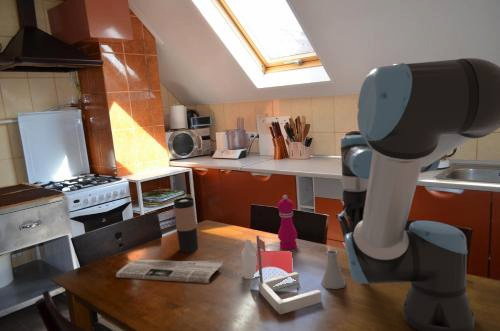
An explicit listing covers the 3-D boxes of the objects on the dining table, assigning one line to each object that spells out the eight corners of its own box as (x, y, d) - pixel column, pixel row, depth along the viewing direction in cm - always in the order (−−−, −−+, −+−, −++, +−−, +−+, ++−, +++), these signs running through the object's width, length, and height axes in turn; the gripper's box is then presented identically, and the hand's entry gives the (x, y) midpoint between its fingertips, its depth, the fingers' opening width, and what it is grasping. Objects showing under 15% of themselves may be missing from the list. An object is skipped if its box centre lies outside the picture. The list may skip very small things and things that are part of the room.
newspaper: (116, 278, 127) (114, 269, 126) (136, 263, 139) (135, 254, 138) (213, 285, 117) (211, 274, 116) (226, 267, 128) (225, 257, 128)
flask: (344, 278, 113) (342, 246, 112) (348, 289, 106) (346, 256, 105) (320, 278, 114) (318, 247, 113) (322, 290, 107) (320, 257, 105)
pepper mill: (276, 249, 139) (273, 197, 136) (280, 242, 146) (277, 192, 143) (296, 250, 137) (292, 197, 134) (299, 243, 144) (296, 192, 141)
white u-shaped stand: (321, 302, 101) (318, 242, 98) (279, 314, 96) (275, 252, 94) (296, 281, 114) (293, 227, 111) (258, 291, 109) (254, 235, 107)
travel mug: (177, 248, 149) (171, 199, 146) (195, 243, 152) (190, 196, 149) (182, 254, 142) (176, 203, 139) (201, 249, 145) (196, 199, 142)
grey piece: (253, 243, 115) (236, 242, 116) (256, 280, 116) (239, 278, 118) (259, 236, 120) (243, 235, 122) (262, 271, 122) (246, 270, 124)
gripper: (365, 182, 115) (367, 255, 119) (329, 189, 110) (332, 264, 114) (382, 187, 108) (384, 263, 112) (344, 194, 103) (347, 274, 107)
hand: (358, 264), depth 113 cm, fingers closed
